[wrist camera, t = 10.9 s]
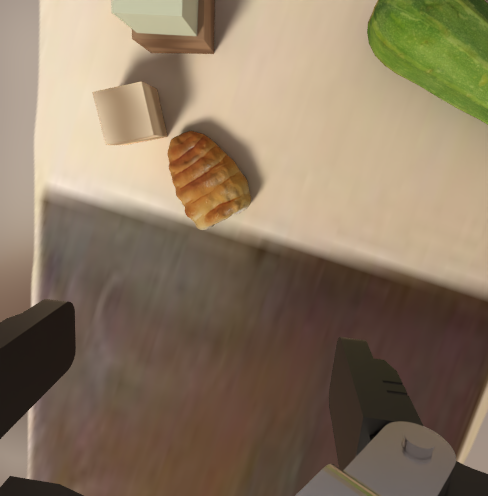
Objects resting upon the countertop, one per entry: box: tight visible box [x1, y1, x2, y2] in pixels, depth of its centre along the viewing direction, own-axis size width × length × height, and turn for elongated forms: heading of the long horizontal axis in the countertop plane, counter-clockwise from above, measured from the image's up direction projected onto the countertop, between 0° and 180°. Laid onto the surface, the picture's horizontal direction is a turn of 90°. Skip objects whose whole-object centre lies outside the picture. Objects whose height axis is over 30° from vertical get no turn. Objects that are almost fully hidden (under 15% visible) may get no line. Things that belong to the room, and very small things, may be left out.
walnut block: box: [132, 0, 215, 54], centre depth 34 cm, size 6×6×5 cm
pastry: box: [168, 131, 251, 230], centre depth 38 cm, size 9×7×4 cm
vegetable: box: [367, 0, 488, 124], centre depth 32 cm, size 7×7×20 cm
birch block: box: [92, 81, 167, 145], centre depth 37 cm, size 4×4×4 cm
